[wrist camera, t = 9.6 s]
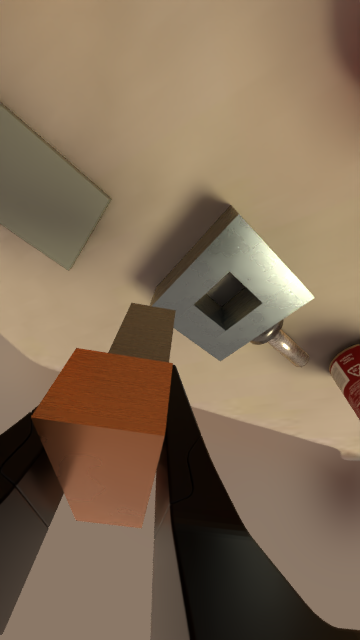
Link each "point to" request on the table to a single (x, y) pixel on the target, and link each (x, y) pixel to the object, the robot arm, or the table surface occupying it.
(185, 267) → the block
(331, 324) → the table surface
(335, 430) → the table surface
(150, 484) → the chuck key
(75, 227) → the mat
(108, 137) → the table surface
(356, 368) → the soda can
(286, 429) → the table surface
